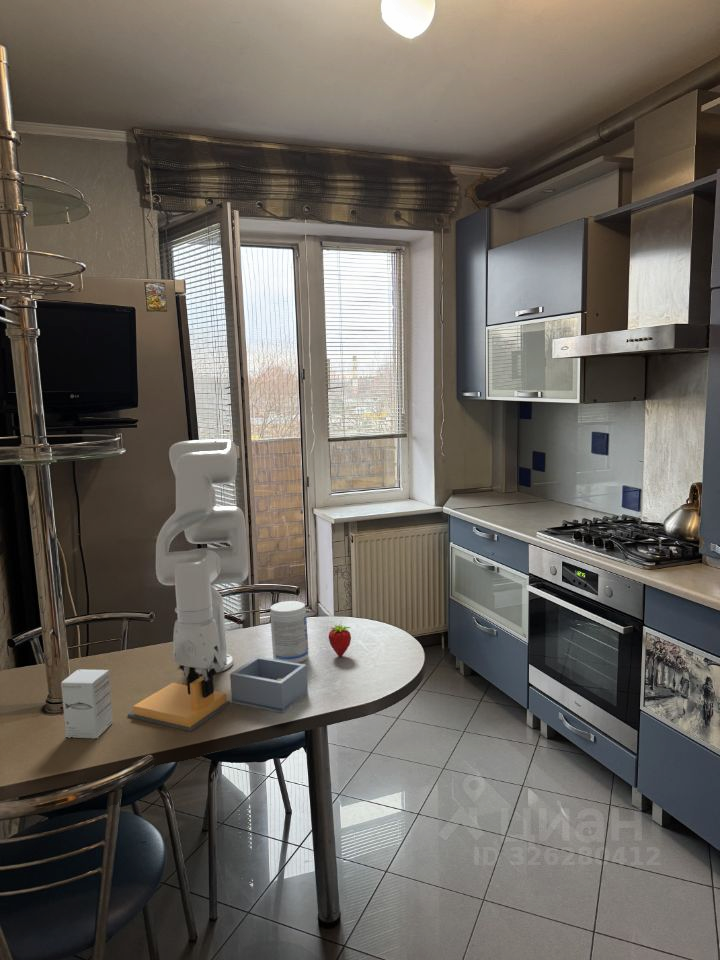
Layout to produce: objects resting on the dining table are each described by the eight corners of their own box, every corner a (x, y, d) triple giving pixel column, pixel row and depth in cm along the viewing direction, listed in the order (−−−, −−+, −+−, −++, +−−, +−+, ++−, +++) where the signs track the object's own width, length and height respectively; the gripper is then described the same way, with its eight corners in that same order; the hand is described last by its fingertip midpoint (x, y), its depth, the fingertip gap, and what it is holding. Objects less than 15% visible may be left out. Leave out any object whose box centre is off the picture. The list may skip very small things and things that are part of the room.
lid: (133, 714, 153) (130, 680, 152) (173, 690, 165) (170, 658, 164) (189, 727, 146) (187, 691, 145) (226, 701, 158) (224, 668, 157)
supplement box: (64, 738, 145) (59, 682, 143) (83, 721, 152) (78, 667, 150) (97, 740, 143) (91, 683, 142) (114, 722, 151) (109, 668, 149)
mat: (127, 716, 153) (127, 714, 153) (170, 691, 166) (170, 688, 166) (190, 731, 145) (190, 728, 145) (230, 703, 158) (230, 701, 158)
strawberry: (346, 649, 188) (345, 614, 186) (355, 659, 181) (354, 623, 179) (326, 653, 186) (324, 618, 184) (334, 663, 179) (332, 626, 177)
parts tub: (231, 702, 158) (230, 673, 157) (258, 683, 168) (257, 656, 167) (282, 713, 152) (281, 683, 151) (307, 692, 162) (306, 664, 161)
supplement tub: (315, 659, 182) (312, 606, 180) (283, 668, 177) (280, 614, 175) (297, 649, 190) (295, 598, 188) (267, 657, 185) (263, 605, 183)
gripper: (154, 615, 150) (160, 694, 152) (214, 624, 143) (220, 707, 145) (177, 605, 157) (183, 681, 159) (236, 613, 149) (241, 692, 152)
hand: (200, 692), depth 152 cm, fingers open, 3 cm apart
